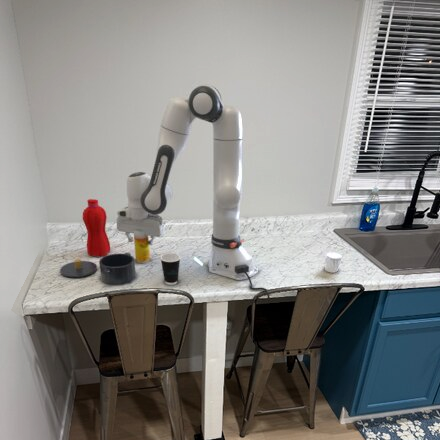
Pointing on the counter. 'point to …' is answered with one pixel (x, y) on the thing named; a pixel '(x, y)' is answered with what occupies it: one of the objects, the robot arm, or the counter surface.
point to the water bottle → (96, 229)
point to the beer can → (141, 247)
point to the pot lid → (78, 268)
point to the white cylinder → (332, 262)
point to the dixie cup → (170, 267)
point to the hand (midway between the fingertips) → (140, 243)
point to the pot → (117, 269)
